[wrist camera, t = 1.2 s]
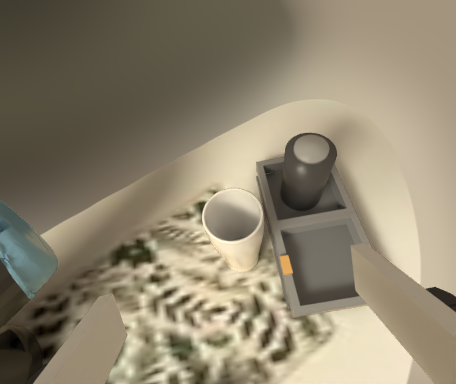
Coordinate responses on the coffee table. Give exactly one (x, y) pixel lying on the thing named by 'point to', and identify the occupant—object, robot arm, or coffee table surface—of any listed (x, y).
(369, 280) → the robot arm
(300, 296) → the divided desk organizer
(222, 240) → the drinking glass
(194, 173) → the coffee table surface
